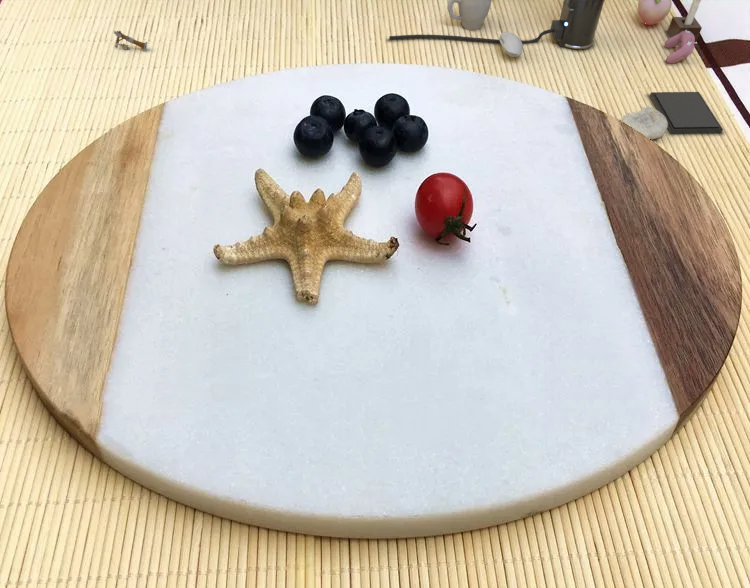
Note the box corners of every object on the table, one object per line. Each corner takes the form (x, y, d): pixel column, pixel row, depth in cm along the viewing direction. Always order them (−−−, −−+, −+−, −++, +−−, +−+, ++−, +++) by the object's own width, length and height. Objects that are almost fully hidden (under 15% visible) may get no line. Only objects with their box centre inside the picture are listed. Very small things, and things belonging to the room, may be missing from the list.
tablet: (670, 134, 154) (672, 129, 153) (649, 96, 164) (651, 91, 163) (721, 133, 155) (723, 128, 154) (697, 95, 164) (699, 90, 164)
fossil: (636, 95, 156) (676, 113, 154) (629, 109, 159) (668, 127, 157) (620, 117, 150) (662, 136, 148) (613, 131, 153) (654, 150, 151)
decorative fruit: (667, 33, 183) (681, -5, 175) (637, 32, 183) (650, -6, 175) (659, 17, 189) (672, -21, 181) (630, 16, 189) (642, -22, 181)
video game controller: (677, 71, 174) (700, 49, 169) (664, 61, 173) (686, 38, 168) (675, 52, 180) (696, 30, 175) (662, 43, 179) (683, 20, 174)
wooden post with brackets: (112, 43, 171) (115, 27, 168) (144, 56, 174) (147, 41, 171) (110, 46, 170) (113, 30, 167) (142, 60, 173) (145, 44, 170)
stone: (492, 47, 177) (496, 28, 173) (511, 45, 178) (515, 25, 174) (506, 66, 171) (510, 46, 167) (526, 63, 172) (530, 44, 168)
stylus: (680, 39, 182) (700, -13, 171) (678, 35, 183) (697, -16, 172) (687, 39, 182) (707, -13, 171) (684, 35, 183) (704, -16, 173)
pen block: (674, 42, 180) (680, 27, 177) (667, 31, 184) (672, 16, 181) (696, 42, 181) (702, 27, 177) (688, 31, 184) (694, 16, 181)
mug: (480, 16, 187) (486, -22, 179) (492, 31, 182) (498, -7, 174) (440, 20, 185) (443, -17, 177) (451, 36, 180) (455, -2, 172)
